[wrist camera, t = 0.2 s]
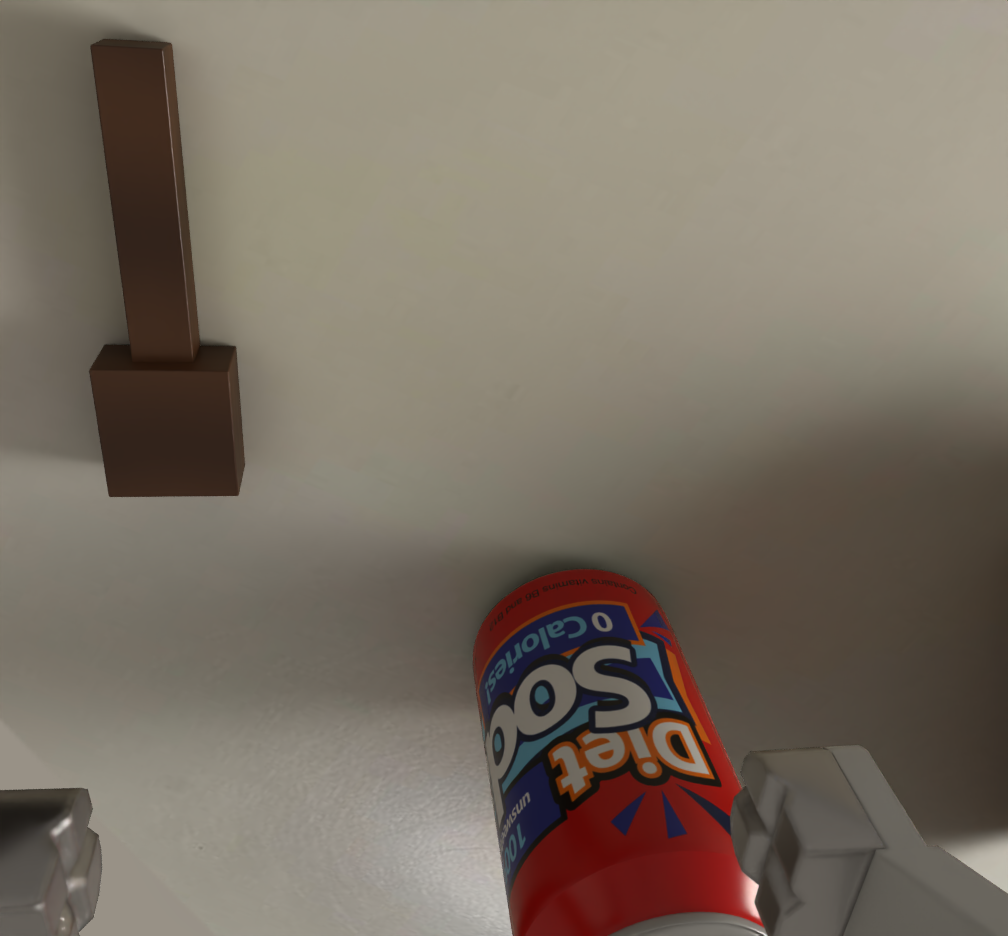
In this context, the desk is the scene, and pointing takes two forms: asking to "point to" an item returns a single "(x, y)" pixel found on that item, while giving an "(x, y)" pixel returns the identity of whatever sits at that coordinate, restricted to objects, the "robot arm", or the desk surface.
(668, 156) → the desk surface
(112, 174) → the wooden mallet
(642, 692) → the soda can
